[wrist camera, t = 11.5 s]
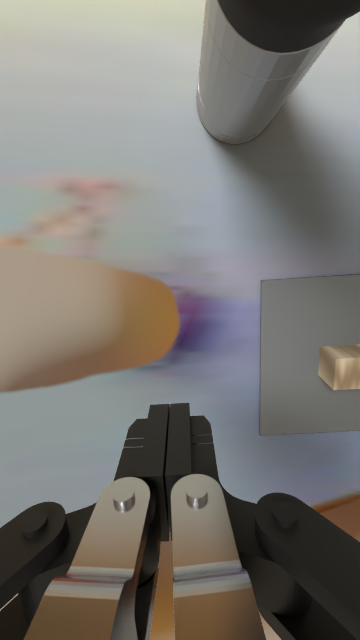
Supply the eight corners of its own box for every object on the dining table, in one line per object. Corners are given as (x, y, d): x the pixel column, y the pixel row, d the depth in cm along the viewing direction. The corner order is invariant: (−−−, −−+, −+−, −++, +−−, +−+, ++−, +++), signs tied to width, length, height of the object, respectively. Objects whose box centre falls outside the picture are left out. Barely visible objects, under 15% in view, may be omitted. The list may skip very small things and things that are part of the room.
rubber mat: (260, 280, 39) (261, 280, 38) (428, 269, 38) (431, 270, 38) (259, 434, 45) (260, 435, 45) (402, 426, 44) (404, 428, 44)
